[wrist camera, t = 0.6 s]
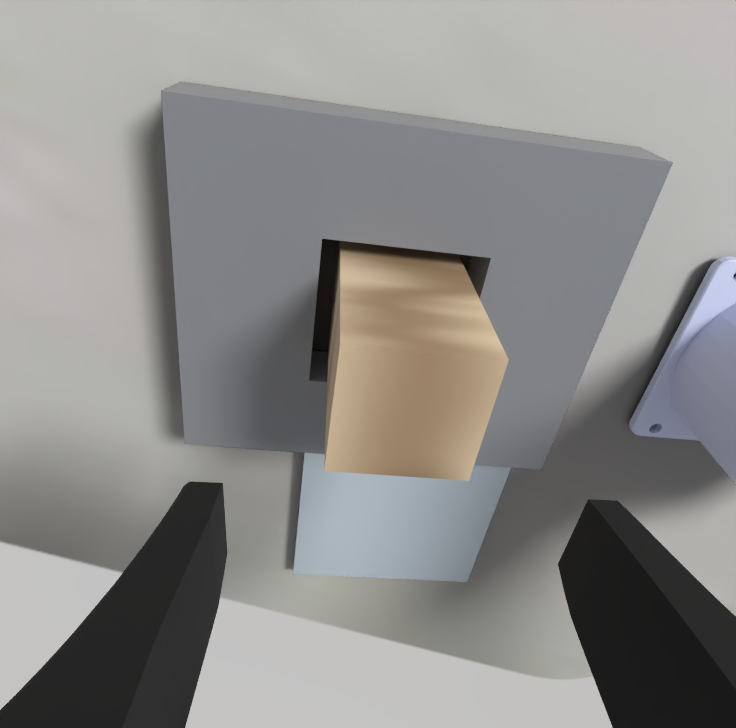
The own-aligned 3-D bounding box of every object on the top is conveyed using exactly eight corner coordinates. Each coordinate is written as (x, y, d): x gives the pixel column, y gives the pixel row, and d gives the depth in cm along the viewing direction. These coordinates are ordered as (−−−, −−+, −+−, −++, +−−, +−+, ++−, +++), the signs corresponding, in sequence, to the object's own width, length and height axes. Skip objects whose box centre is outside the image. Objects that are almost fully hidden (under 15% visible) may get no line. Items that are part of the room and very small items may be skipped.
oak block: (455, 249, 19) (508, 360, 13) (432, 347, 21) (468, 480, 15) (340, 235, 18) (339, 344, 12) (328, 337, 20) (323, 470, 14)
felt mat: (512, 444, 24) (516, 454, 23) (464, 571, 28) (467, 582, 28) (306, 428, 23) (306, 438, 22) (293, 563, 27) (293, 573, 27)
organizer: (640, 147, 17) (672, 162, 15) (526, 437, 23) (541, 469, 22) (180, 81, 15) (161, 90, 14) (196, 410, 22) (184, 443, 20)
